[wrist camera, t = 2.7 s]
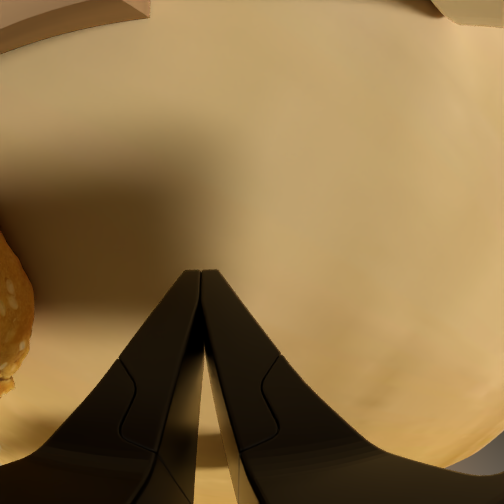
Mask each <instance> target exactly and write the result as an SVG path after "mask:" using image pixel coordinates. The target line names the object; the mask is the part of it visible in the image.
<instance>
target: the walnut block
mask: <svg viewBox="0 0 504 504" xmlns="http://www.w3.org/2000/svg"><path fill="white" fill-rule="evenodd" d="M143 18H150V0H0V54H2V53H5V52H7V51H10V50H13V49H15V48H18V47H21V46H24V45H27V44H30V43H33V42H36V41H39V40H43V39H46V38H49V37H53V36H57V35H60V34H64V33H68V32H72V31H76V30H80V29H85V28H89V27H94V26H99V25H104V24H110V23H115V22H122V21H128V20H135V19H143Z"/></svg>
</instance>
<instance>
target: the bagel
mask: <svg viewBox="0 0 504 504" xmlns="http://www.w3.org/2000/svg"><path fill="white" fill-rule="evenodd" d="M33 321H34V292H33V288H32V285H31V282H30V281H29V279H28V277H27V274H26V273H25V272H24V270H23V268H22V266H21V263H20V261H19V259H18V257H17V256H16V255H15V254H14V253H13V251H12V250H11V248H10V247H9V245H8V244H7V243H6V240H5V238H4V236H3V234H2V232H1V231H0V398H1V397H2V396H4V395H6V394H7V393H8V392H9V391H10V390H14V389H15V383H14V381H13V377H12V375H13V374H14V373H15V372H16V371H17V370H18V369H19V367H20V366H21V363H22V361H23V359H24V358H25V357H26V355H27V354H28V351H29V339H30V336H31V332H32V324H33Z"/></svg>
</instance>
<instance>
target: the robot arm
mask: <svg viewBox="0 0 504 504" xmlns="http://www.w3.org/2000/svg"><path fill="white" fill-rule="evenodd" d="M204 355H206V362H207V367H208V373H209V378H210V383H211V388H212V393H213V398H214V403H215V408H216V413H217V418H218V422H219V427H220V432H221V436H222V441H223V445H224V450H225V454H226V458H227V463H228V467H229V471H230V475H231V479H232V483H233V487H234V491H235V495H236V499H237V503H238V504H504V471H503V472H501V473H498V474H494V475H485V476H483V475H482V476H479V475H471V474H465V473H461V472H456V471H452V470H448V469H444V468H440V467H436V466H432V465H428V464H425V463H421V462H417V461H414V460H411V459H407V458H404V457H401V456H397V455H394V454H391V453H388V452H386V451H384V450H382V449H380V448H378V447H377V446H375V445H373V444H372V443H370V442H369V441H368V440H366V439H365V438H364V437H363V436H361V435H360V434H359V433H358V432H357V431H356V430H355V429H354V428H353V427H351V426H350V425H349V424H348V423H347V422H346V421H345V420H344V419H343V418H342V417H340V416H339V415H338V414H337V413H336V412H335V411H334V410H333V409H332V408H331V407H330V406H329V405H328V404H326V403H325V402H324V401H323V400H322V399H321V398H320V397H319V396H318V395H317V394H316V393H315V392H314V391H313V390H312V389H311V388H310V387H309V386H308V385H307V384H306V383H305V382H304V380H303V379H302V378H301V377H300V376H299V375H298V373H297V372H296V371H295V370H294V369H293V368H292V366H291V365H290V364H289V362H288V361H287V360H286V359H285V357H284V356H283V355H281V352H280V351H279V350H278V349H277V347H276V346H275V345H274V343H273V342H272V341H271V339H270V338H269V337H268V336H267V334H266V333H265V332H264V330H263V329H262V328H261V326H260V325H259V324H258V322H257V321H256V320H255V319H254V317H253V316H252V315H251V313H250V312H249V311H248V309H247V308H246V307H245V305H244V304H243V303H242V301H241V300H240V299H239V297H238V296H237V295H236V293H235V292H234V291H233V289H232V288H231V287H230V285H229V284H228V282H227V281H226V280H225V278H224V277H223V276H222V274H221V273H220V272H219V270H217V269H209V270H202V272H201V271H200V270H185V271H184V272H183V273H182V274H181V276H180V277H179V278H178V279H177V281H176V282H175V283H174V285H173V286H172V287H171V288H170V290H169V291H168V292H167V294H166V295H165V296H164V297H163V299H162V300H161V301H160V303H159V304H158V305H157V306H156V308H155V309H154V310H153V312H152V313H151V314H150V316H149V317H148V318H147V320H146V321H145V322H144V324H143V325H142V326H141V327H140V329H139V330H138V331H137V333H136V334H135V335H134V337H133V338H132V339H131V341H130V342H129V343H128V345H127V346H126V347H125V349H124V350H123V352H122V353H121V354H120V356H119V359H116V361H115V362H114V363H113V365H112V366H111V368H110V369H109V370H108V372H107V373H106V374H105V375H104V377H103V378H102V379H101V381H100V382H99V383H98V384H97V386H96V387H95V388H94V389H93V390H92V392H91V393H90V394H89V395H88V396H87V397H86V398H85V400H84V401H83V402H82V403H81V404H80V405H79V406H78V407H77V409H76V410H75V411H74V412H73V413H72V414H71V415H70V416H69V417H68V418H67V419H66V421H65V422H64V423H63V424H62V425H61V426H60V427H59V428H58V429H57V430H56V432H55V433H54V434H53V435H52V436H51V437H50V438H49V439H48V440H47V441H46V442H45V443H44V444H43V445H42V446H41V447H40V448H39V449H38V450H36V451H35V452H33V453H32V454H30V455H28V456H27V457H25V458H22V459H20V460H17V461H14V462H11V463H8V464H5V465H2V466H0V504H193V501H194V483H195V467H196V452H197V439H198V425H199V413H200V401H201V390H202V379H203V368H204Z"/></svg>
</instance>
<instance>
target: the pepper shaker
mask: <svg viewBox="0 0 504 504" xmlns="http://www.w3.org/2000/svg"><path fill="white" fill-rule="evenodd" d="M431 1H432V3H433V4H434V5H435V6H436V7H437V8H438V10H439V11H440V12H441V13H442V14H443V15H444V16H445V17H447V18H448V19H449V20H451V21H452V22H454V23H456V24H459V25H471V26H487V27H498V28H504V0H431Z"/></svg>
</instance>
